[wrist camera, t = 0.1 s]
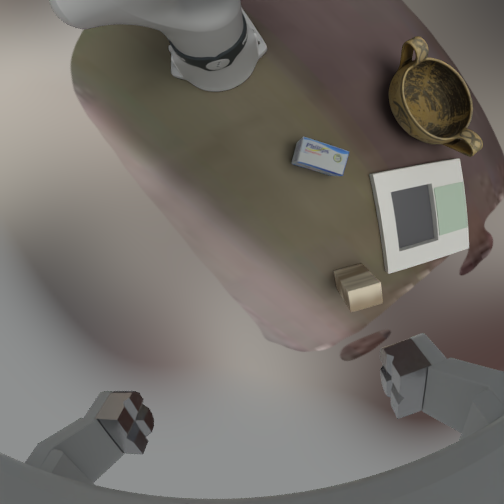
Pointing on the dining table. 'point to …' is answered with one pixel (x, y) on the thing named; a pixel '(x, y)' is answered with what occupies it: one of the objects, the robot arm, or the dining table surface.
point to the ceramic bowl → (432, 100)
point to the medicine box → (320, 157)
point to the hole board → (420, 213)
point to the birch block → (358, 287)
